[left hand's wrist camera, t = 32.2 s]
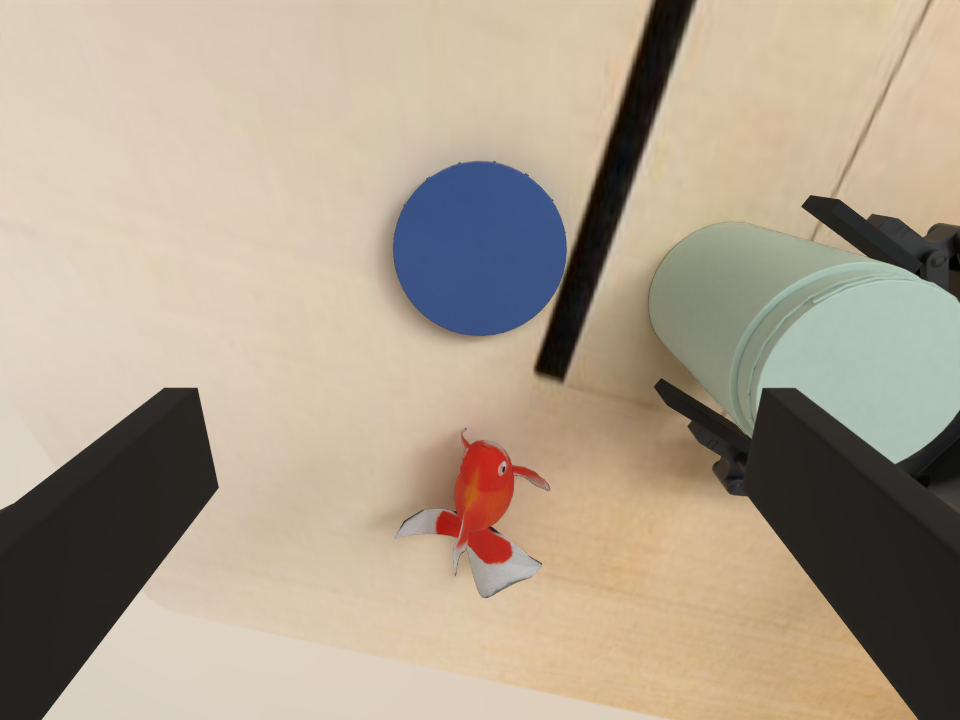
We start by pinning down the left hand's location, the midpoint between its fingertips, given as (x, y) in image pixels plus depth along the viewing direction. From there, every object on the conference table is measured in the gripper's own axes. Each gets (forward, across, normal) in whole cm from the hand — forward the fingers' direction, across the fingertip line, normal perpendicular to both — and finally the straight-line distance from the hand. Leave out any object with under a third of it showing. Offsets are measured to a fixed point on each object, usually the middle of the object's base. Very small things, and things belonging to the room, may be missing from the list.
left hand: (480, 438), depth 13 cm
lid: (+24, 0, 0) cm, 24 cm away
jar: (+26, +17, -4) cm, 31 cm away
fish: (+26, 0, -20) cm, 33 cm away
